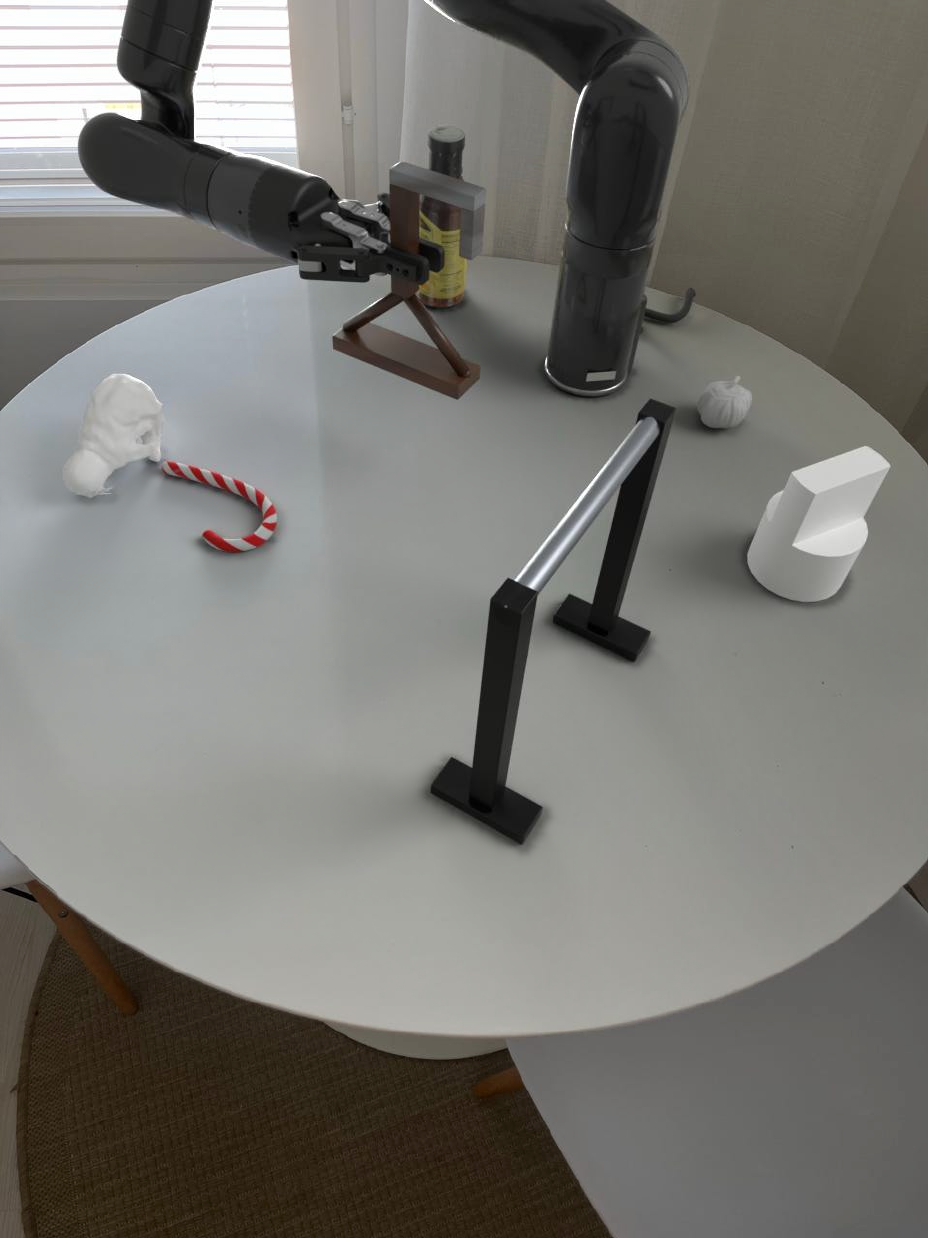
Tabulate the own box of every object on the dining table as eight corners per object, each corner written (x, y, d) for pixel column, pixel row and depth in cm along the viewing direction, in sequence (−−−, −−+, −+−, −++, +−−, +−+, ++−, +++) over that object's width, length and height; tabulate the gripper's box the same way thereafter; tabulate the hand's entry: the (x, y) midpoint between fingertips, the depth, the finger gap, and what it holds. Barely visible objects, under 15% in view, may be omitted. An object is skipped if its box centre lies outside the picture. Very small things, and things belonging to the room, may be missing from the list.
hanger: (332, 348, 87) (317, 152, 73) (356, 329, 89) (346, 135, 75) (458, 400, 83) (468, 202, 69) (480, 379, 85) (494, 182, 71)
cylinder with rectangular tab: (789, 614, 82) (838, 518, 73) (727, 549, 87) (766, 451, 78) (863, 583, 85) (919, 487, 76) (799, 522, 90) (844, 424, 81)
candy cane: (188, 443, 91) (296, 510, 86) (190, 453, 92) (297, 520, 87) (125, 483, 87) (235, 556, 81) (128, 493, 88) (237, 566, 82)
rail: (567, 601, 82) (613, 378, 63) (648, 639, 79) (720, 419, 61) (430, 793, 69) (438, 582, 50) (522, 845, 66) (566, 644, 48)
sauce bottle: (413, 283, 115) (415, 116, 100) (462, 283, 115) (471, 117, 100) (416, 312, 111) (418, 142, 95) (467, 312, 111) (477, 143, 96)
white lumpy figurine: (159, 374, 86) (80, 457, 79) (181, 440, 93) (110, 521, 86) (103, 356, 87) (22, 436, 81) (129, 422, 94) (56, 501, 88)
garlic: (726, 400, 102) (739, 361, 98) (755, 429, 99) (770, 389, 95) (682, 413, 100) (693, 373, 96) (710, 442, 97) (723, 402, 93)
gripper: (214, 195, 75) (388, 258, 70) (315, 138, 83) (478, 191, 78) (228, 279, 81) (390, 343, 76) (321, 218, 89) (474, 273, 83)
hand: (434, 266), depth 77 cm, fingers closed on hanger, 2 cm apart
